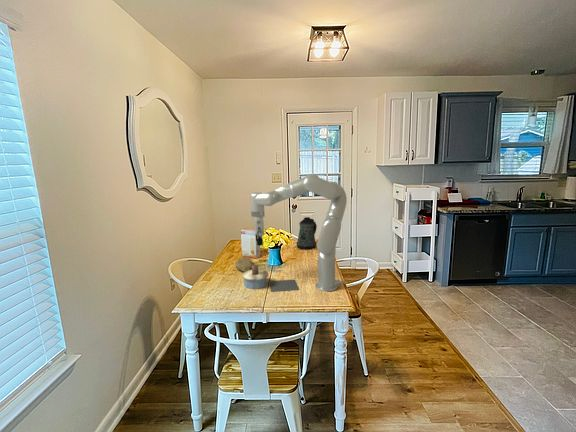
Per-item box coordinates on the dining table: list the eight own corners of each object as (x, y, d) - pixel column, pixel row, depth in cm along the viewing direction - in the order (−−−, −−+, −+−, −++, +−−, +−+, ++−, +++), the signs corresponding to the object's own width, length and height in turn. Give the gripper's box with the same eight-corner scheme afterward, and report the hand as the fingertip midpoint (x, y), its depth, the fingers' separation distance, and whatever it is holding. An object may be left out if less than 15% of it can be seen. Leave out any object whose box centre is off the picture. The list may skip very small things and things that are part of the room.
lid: (267, 270, 190) (266, 260, 189) (269, 279, 176) (269, 269, 175) (242, 271, 188) (241, 262, 187) (242, 281, 174) (241, 270, 173)
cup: (265, 280, 190) (265, 271, 189) (267, 288, 178) (267, 278, 177) (244, 281, 189) (243, 272, 188) (244, 290, 176) (244, 280, 175)
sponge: (238, 266, 222) (229, 269, 202) (240, 255, 222) (232, 258, 202) (256, 270, 220) (249, 274, 200) (258, 259, 220) (251, 262, 200)
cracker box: (261, 256, 237) (260, 229, 234) (256, 259, 232) (255, 231, 229) (246, 254, 245) (245, 228, 241) (241, 256, 240) (240, 229, 236)
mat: (294, 280, 190) (294, 279, 190) (299, 290, 175) (299, 289, 175) (268, 281, 188) (268, 281, 188) (270, 292, 173) (270, 291, 172)
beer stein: (294, 249, 257) (294, 219, 252) (300, 243, 275) (299, 215, 271) (314, 250, 252) (314, 220, 248) (318, 244, 270) (318, 215, 266)
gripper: (266, 216, 171) (267, 246, 174) (263, 211, 188) (264, 239, 191) (252, 217, 170) (253, 247, 173) (250, 212, 187) (252, 240, 190)
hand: (259, 243), depth 182 cm, fingers open, 9 cm apart
